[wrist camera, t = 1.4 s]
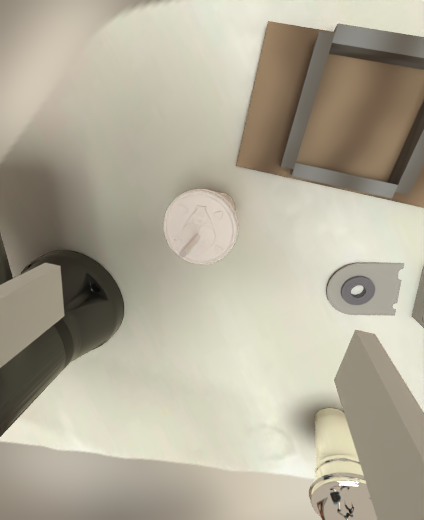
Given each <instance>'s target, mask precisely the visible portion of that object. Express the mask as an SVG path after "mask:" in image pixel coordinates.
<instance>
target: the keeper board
mask: <svg viewBox="0 0 424 520" xmlns="http://www.w3.org/2000/svg"><path fill="white" fill-rule="evenodd" d="M236 166H240V167H244V168H249V169H253V170H258V171H262V172H267V173H271V174H275V175H280V176H284V177H289V178H293V179H298V180H302V181H307V182H311V183H316V184H320V185H325V186H329V187H334V188H338V189H343V190H347V191H352V192H356V193H360V194H365V195H369V196H374V197H378V198H383V199H387V200H392V201H396V202H401V203H405V204H410V205H414V206H419V207H423V208H424V37H419V36H413V35H406V34H400V33H394V32H387V31H381V30H375V29H369V28H362V27H356V26H350V25H343V24H337V26H336V28H335V30H334V32H331V31H325V30H319V29H313V28H306V27H300V26H294V25H288V24H282V23H276V22H269V21H268V24H267V29H266V33H265V38H264V42H263V47H262V51H261V56H260V61H259V65H258V70H257V74H256V79H255V83H254V88H253V92H252V97H251V101H250V106H249V110H248V115H247V119H246V124H245V128H244V133H243V137H242V142H241V146H240V151H239V155H238V160H237V164H236Z"/></svg>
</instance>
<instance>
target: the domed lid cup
mask: <svg viewBox="0 0 424 520" xmlns="http://www.w3.org/2000/svg"><path fill="white" fill-rule="evenodd" d="M315 445H316V468H315V481H314V482H313V483H312V484H311V486H310V489H309V497H310V500H311V504H312V507H313V508H314V510H315V512H316V513H317V514H318V515H319V516H320V517H321V518H322V520H377V516H376V513H375V510H374V507H373V504H372V500H371V497H370V494H369V491H368V487H367V484H366V481H365V478H364V475H363V471H362V468H361V465H360V462H359V459H358V455H357V452H356V449H355V446H354V442H353V439H352V436H351V433H350V430H349V426H348V423H347V420H346V417H345V414H344V412H343V411H341V410H339V409H335V408H325V409H322V410H320V411H318V412H317V413H316V415H315Z"/></svg>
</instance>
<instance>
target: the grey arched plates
mask: <svg viewBox="0 0 424 520" xmlns="http://www.w3.org/2000/svg"><path fill="white" fill-rule="evenodd" d="M402 268H404V263H354V264H350V265H347V266H345V267H343V268H341V269H339V270H338V271H337V272H336V273H335V274H334V275H333V276H332V277H331V279H330V280H329V283H328V286H327V297H328V300H329V302H330V303H331V305H332V306H333V307H334V308H335V309H336V310H338V311H340V312H342V313H345V314H349V315H395V312H396V309H393V307H392V306H393V304H395V303H397V301H398V295H399V290H400V284H401V280H399V279H398V272H399V270H400V269H402ZM357 285H362V286H363V287H364V290H363V292H362V293H361V294H358V295H353V294H351V290H352V288H353V287H355V286H357ZM412 317H413V318H414V319H415V320H416V321H417V322H418V323H419V324H420V325H421V326H422V327H423V328H424V268H423V270H422V274H421V279H420V283H419V287H418V291H417V295H416V300H415V304H414V308H413V315H412Z"/></svg>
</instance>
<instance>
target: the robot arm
mask: <svg viewBox="0 0 424 520" xmlns="http://www.w3.org/2000/svg"><path fill="white" fill-rule="evenodd" d="M123 314H124V306H123V300H122V296H121V293H120V291H119V288H118V286H117V285H116V283H115V281H114V280H113V278H112V277H111V276H110V275H109V273H108V272H107V271H106V270H105V269H104V268H103V267H102V266H100V265H99V264H98V263H97V262H95V261H94V260H92V259H90V258H89V257H87V256H85V255H82V254H80V253H76V252H72V251H54V252H51V253H48V254H46V255H44V256H41V257H39V258H37V259H35V260H34V261H32V262H31V263H29V264H28V265H27V266H26V267H25V268H24V270H23V271H22V272H21V274H20V275H19V276H17V277H15V278H13V277H12V273H11V270H10V266H9V262H8V259H7V255H6V252H5V248H4V244H3V241H2V237H1V233H0V437H1V436H2V435H3V433H4V432H5V431H6V430H7V429H8V428H9V427H10V426H11V425H12V424H13V423H14V422H15V421H16V420H17V418H18V417H19V416H20V415H21V414H22V413H23V412H24V411H25V410H26V409H27V408H28V407H29V406H30V405H31V403H32V402H33V401H34V400H35V399H36V398H37V397H38V396H39V395H40V394H41V393H42V392H43V391H44V390H45V388H46V387H47V386H48V385H49V384H50V383H51V382H52V381H53V380H54V379H55V378H56V377H57V376H58V375H59V373H60V372H61V371H62V370H63V369H64V368H65V367H66V366H67V365H68V364H69V363H70V362H71V361H73V360H75V359H77V358H79V357H80V356H82V355H84V354H86V353H87V352H89V351H91V350H93V349H95V348H98V347H100V346H101V345H103V344H104V343H106V342H107V341H108V340H109V339H110V338H111V337H112V336H113V334H114V333H115V332H116V331H117V330H118V328H119V327H120V325H121V322H122V319H123ZM334 381H335V385H336V388H337V391H338V394H339V398H340V401H341V404H342V407H343V410H344V414H345V417H346V420H347V423H348V426H349V430H350V433H351V436H352V439H353V442H354V446H355V449H356V452H357V455H358V459H359V462H360V465H361V468H362V471H363V475H364V478H365V481H366V484H367V487H368V491H369V494H370V497H371V500H372V504H373V507H374V510H375V513H376V516H377V520H424V413H423V411H422V409H421V408H420V406H419V405H418V403H417V401H416V400H415V398H414V396H413V395H412V393H411V392H410V390H409V388H408V387H407V385H406V384H405V382H404V380H403V379H402V377H401V375H400V374H399V372H398V371H397V369H396V367H395V366H394V364H393V362H392V361H391V359H390V358H389V356H388V354H387V353H386V351H385V350H384V348H383V346H382V345H381V343H380V341H379V340H378V338H377V337H376V335H375V334H372V333H368V332H363V331H359V330H355V332H354V334H353V337H352V339H351V341H350V344H349V346H348V348H347V351H346V353H345V356H344V358H343V360H342V363H341V365H340V367H339V370H338V372H337V375H336V377H335V379H334Z"/></svg>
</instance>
